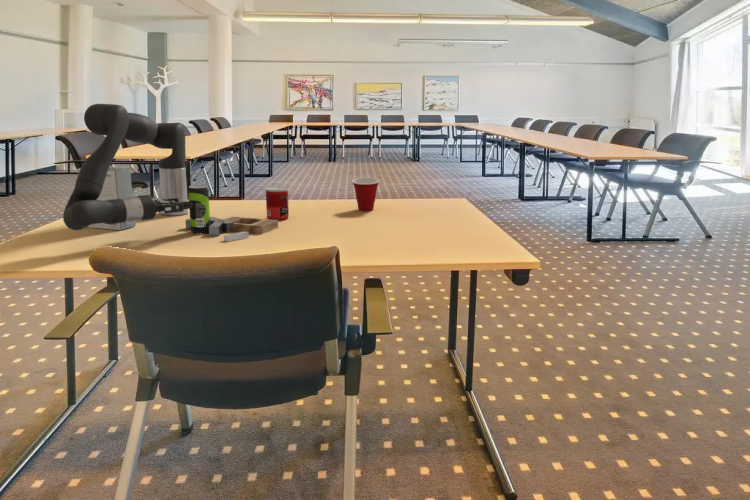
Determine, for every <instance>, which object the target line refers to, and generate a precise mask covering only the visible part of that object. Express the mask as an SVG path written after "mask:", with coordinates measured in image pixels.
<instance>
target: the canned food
mask: <svg viewBox="0 0 750 500" xmlns="http://www.w3.org/2000/svg"><path fill="white" fill-rule="evenodd" d="M265 200H266V201H265V203H266V205H265V207H266V209H265V210H266V219H271V220H278V222H279V221H285V220H288V219H289V217H290V216H289V214H290V213H289V189H288V188H287V187H284V186H283V187H280V186H274V187H273V186H272V187H266V189H265Z"/></svg>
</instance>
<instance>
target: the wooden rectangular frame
mask: <svg viewBox="0 0 750 500" xmlns="http://www.w3.org/2000/svg"><path fill="white" fill-rule="evenodd" d="M223 219H224V220H228V221H232V222H234V224H233V231H232V232H235V233H239V232H244V231H245V232H249V234H260V235H263V234H266V233H268V232H270V231H273V230H276V229H277V228H279V221H278V220H271V219H268V218H257V217H256V218H255V217H244V216H234V215H233V216H232V215H231V216H228V217H225V218H223Z"/></svg>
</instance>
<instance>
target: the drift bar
mask: <svg viewBox="0 0 750 500" xmlns="http://www.w3.org/2000/svg"><path fill="white" fill-rule="evenodd" d="M249 234H250V233H249V232H245V231H244V232H235V233H229V234H223V241H224V242H226V241H227V242H233V241H239V240H243V239H249V238H250V235H249Z"/></svg>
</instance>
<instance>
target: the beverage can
mask: <svg viewBox="0 0 750 500" xmlns="http://www.w3.org/2000/svg"><path fill="white" fill-rule="evenodd" d="M188 188H189V189H187V194H188V201H192V202H193V208H190V209H189V219H190V224H191V229H190V231H191V233H193V234H196V233H203V234H207V233H208V234H209V226H210V217H211V213H210V195H209V194H210V192H209V191H210V190H209V187H208V185H206V184H205V185H204V184H195V185H194V184H193V185H189V186H188Z"/></svg>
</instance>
